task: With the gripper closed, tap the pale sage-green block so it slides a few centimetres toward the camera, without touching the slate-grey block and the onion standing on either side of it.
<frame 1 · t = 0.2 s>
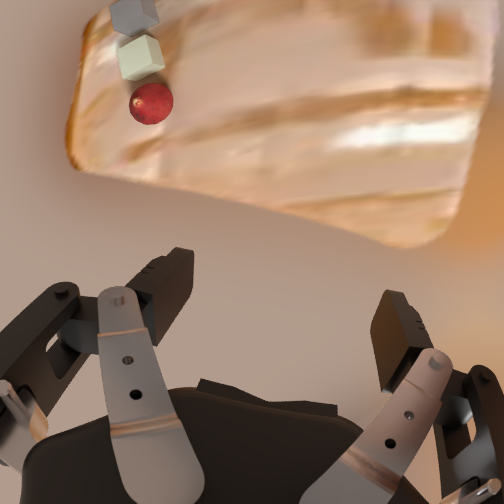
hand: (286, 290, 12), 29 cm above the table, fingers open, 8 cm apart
sage block: (147, 60, 34), on the table
slate block: (142, 18, 31), on the table
onion: (164, 104, 37), on the table
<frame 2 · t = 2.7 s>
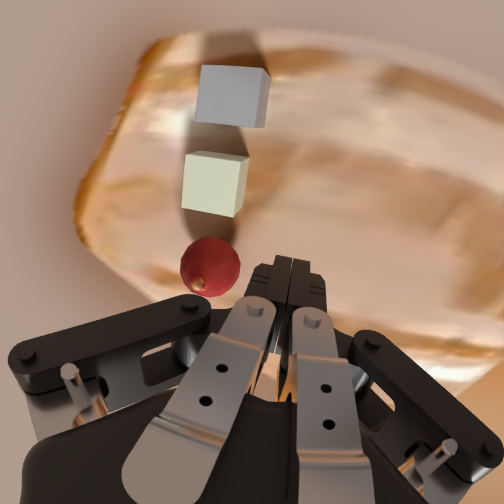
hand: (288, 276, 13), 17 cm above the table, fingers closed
sage block: (222, 177, 29), on the table
slate block: (241, 99, 25), on the table
onion: (221, 250, 32), on the table
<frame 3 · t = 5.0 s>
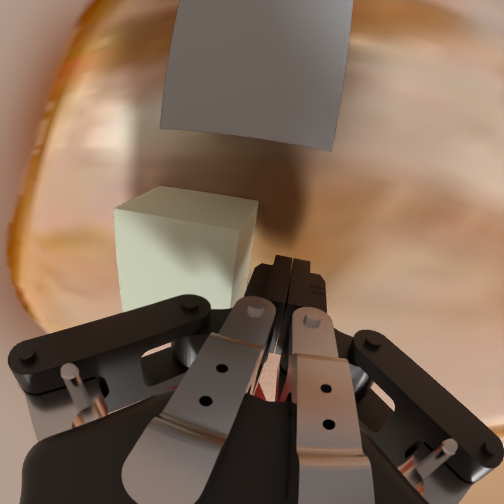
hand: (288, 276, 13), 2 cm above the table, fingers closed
sage block: (203, 240, 15), on the table, touching gripper
slate block: (274, 79, 11), on the table
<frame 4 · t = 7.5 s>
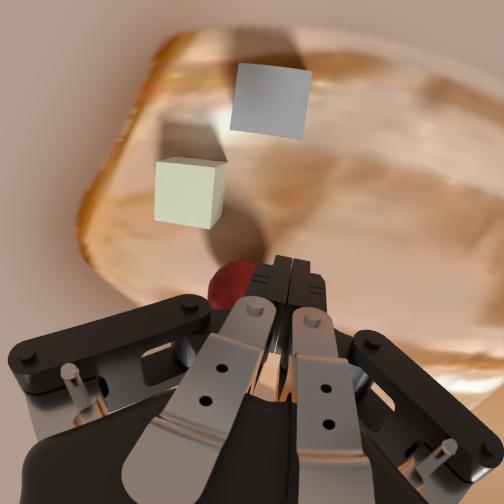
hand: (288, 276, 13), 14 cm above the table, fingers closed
sage block: (199, 185, 26), on the table
slate block: (276, 105, 22), on the table
onion: (248, 274, 29), on the table
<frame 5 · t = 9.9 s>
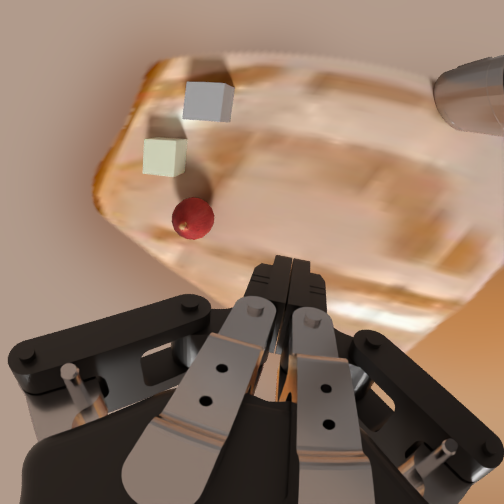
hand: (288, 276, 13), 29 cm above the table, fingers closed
sage block: (171, 154, 41), on the table
slate block: (215, 103, 37), on the table
onion: (202, 210, 44), on the table
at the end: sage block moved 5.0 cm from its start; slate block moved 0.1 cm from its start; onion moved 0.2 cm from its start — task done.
